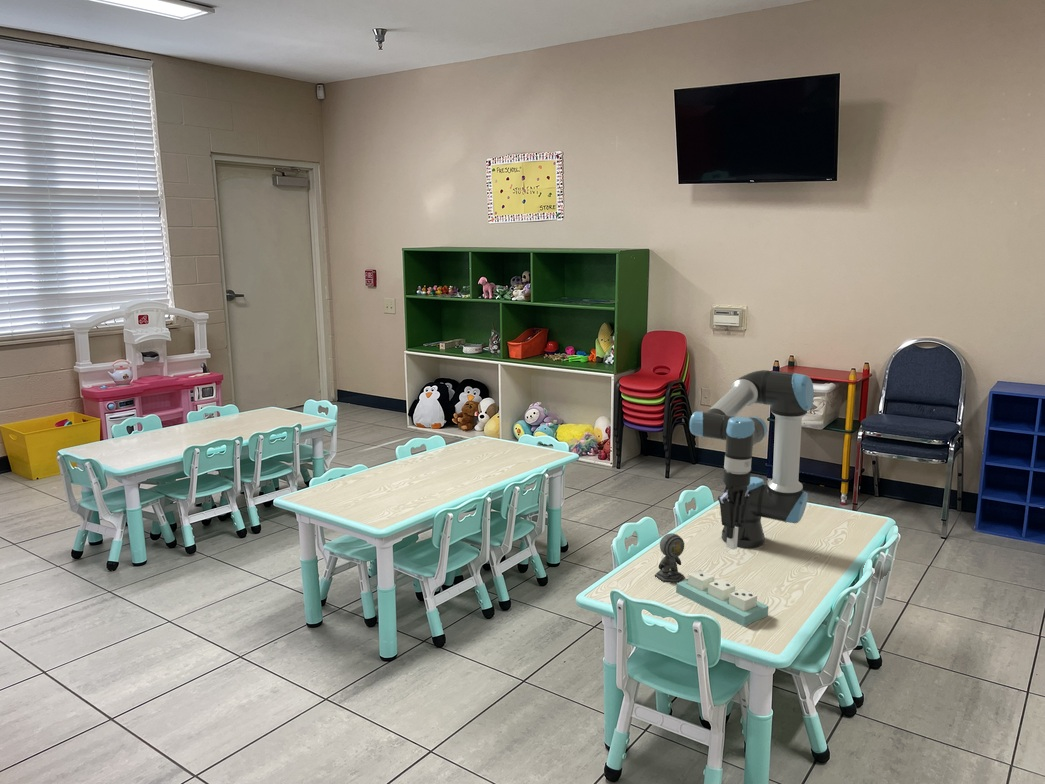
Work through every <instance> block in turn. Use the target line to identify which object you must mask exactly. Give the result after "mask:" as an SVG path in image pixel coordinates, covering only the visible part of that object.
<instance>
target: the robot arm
mask: <svg viewBox="0 0 1045 784" xmlns="http://www.w3.org/2000/svg"><path fill="white" fill-rule="evenodd" d="M813 384H814V383H813V381H812V379H811V377H810V376H808V375H807V374H801V373H798V372H785V371H775V370H768V369H767V370H764V369H763V370H755V371H752V372H749V373H747V374H744V375H743V376H741V377H739V378H737V379H736V380H735V381H734V382H732V384H731V386H730V389H729V390H728V392H727V393H725V394H724V395H723V396H722V397H721V398H719V400H717V402H715V403H714V405H712V406H711V407H710V408H709V409H708V410H707V411H705V412H704V411H694V412H693V413H692V415H690V419H689V431H690V433H691V434H692V435H693V436H697V437H701V438H708V439H714V440H722V441H725V452H724V453H725V454H724V463H723V464H724V465H723V468H724V470H723V478H722V479H723V483H724V485H725V486H724V487H725V488H724V491H723V494H722V495H718V497H717V500H718V502H719V508H720V509H719V510H720V517H721V520H720V521H721V525H722V526H723V529H722V530H721V540H723V541H724V542H725V545H726V548H728V549H731V550H737V549H738V547H740V548H757V547H760V546H763V545H764V543H765V539H766V538H765V533H764V530H763V525H762V518H764V519H768V520H769V519H770V520H775V521H779V522H782V523H783V522H784V523H785V524H786V523H790V524H797V523H800V521H801V520H802V518H803V516H804V513H805V510H806V508H807V504H808V503H807V502H808V498H809V495H808V494H809V493H808V492H806V491H804V490H803V489H804V486H803V483H802V482H800V481H799V476H800V475H799V474H800V460H801V459H800V458H801V457H800V456H801V439H802V424H803V423H802V422H803V418H804V417H805V416H807V414H808V411H809V410H811V409H812V408H813V404H814V398H815V397H814V396H815V395H814V394H815V392H814V385H813ZM754 404H760V405H767V406H770V412H771V413H772V415H774V417H775V419H774V435H773V436H774V437H773V438H774V439H773V440H774V441H773V442H774V443H773V459H772V460H773V463H772V464H773V465H772V479H771V480H769V481H768V482H767V484H765V480H764V479H763V478H760V477H757V476H751V475H752V473H751V471H752V459H753V458H752V457H753V449H754V447H753V446H754V445H756V444H758V443H760V442H761V441H762V440H763V439H764V438H766V436H767V434H768V433H767V432H768V427H767V423H766V422H765V420H764V419H762V418H760V417H758V416H749V417H746V416H738V415H739V414H740V413H741V412H742V411H744V409H745V408H746V407H749V406H752V405H754Z"/></svg>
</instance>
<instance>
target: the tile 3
mask: <svg viewBox="0 0 1045 784" xmlns="http://www.w3.org/2000/svg"><path fill="white" fill-rule="evenodd" d="M757 601H758V595H756V594H754V593H752V592H750V591H747V590H745V589H743V588H740V589H738V590H735V592H732V593H730V594H729V605H731V606H733V607H735V608H737V609H739V610H741V611H743V612H746V611H748V610H750V609H753V608H755V607H756V605H757Z"/></svg>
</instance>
